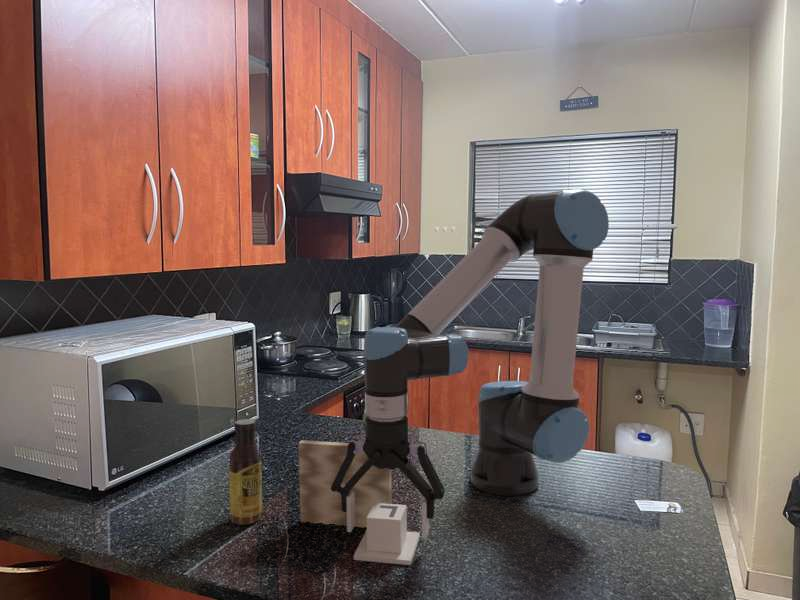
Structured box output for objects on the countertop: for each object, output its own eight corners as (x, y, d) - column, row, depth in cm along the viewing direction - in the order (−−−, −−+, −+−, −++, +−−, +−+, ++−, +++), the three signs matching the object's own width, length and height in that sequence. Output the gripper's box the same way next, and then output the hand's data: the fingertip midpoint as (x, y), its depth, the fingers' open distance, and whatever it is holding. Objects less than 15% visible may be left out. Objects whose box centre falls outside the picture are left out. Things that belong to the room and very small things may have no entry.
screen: (396, 514, 120) (395, 437, 118) (390, 529, 114) (389, 448, 112) (311, 508, 123) (309, 432, 122) (300, 522, 117) (298, 443, 116)
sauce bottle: (245, 530, 114) (242, 429, 112) (223, 522, 118) (219, 423, 116) (270, 516, 120) (267, 420, 118) (247, 509, 123) (244, 415, 121)
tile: (419, 536, 111) (419, 531, 111) (410, 565, 101) (410, 560, 101) (367, 532, 113) (367, 527, 113) (353, 559, 103) (353, 554, 103)
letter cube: (406, 536, 109) (406, 504, 109) (400, 553, 103) (400, 519, 103) (374, 533, 110) (373, 502, 110) (366, 550, 105) (366, 516, 104)
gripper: (311, 418, 103) (314, 535, 105) (455, 425, 99) (455, 548, 101) (325, 406, 111) (327, 516, 113) (459, 413, 106) (459, 527, 108)
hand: (387, 531), depth 107 cm, fingers open, 13 cm apart
